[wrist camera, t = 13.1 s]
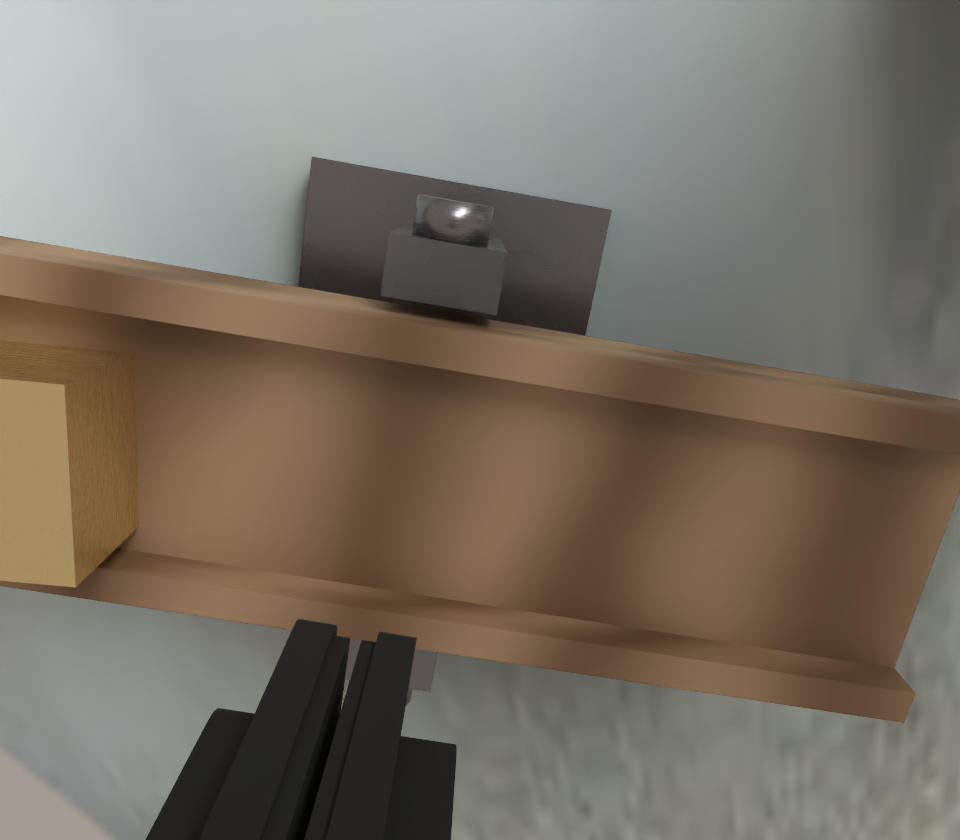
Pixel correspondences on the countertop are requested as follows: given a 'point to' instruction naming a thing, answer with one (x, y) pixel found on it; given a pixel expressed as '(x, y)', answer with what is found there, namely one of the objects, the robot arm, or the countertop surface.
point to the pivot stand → (449, 260)
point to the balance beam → (505, 485)
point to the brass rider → (65, 460)
